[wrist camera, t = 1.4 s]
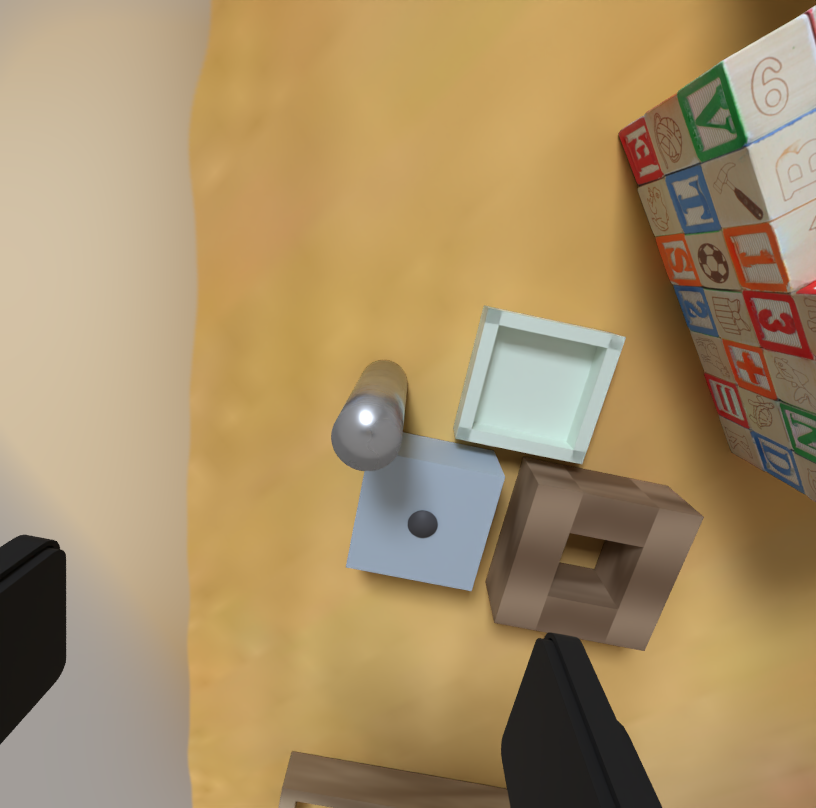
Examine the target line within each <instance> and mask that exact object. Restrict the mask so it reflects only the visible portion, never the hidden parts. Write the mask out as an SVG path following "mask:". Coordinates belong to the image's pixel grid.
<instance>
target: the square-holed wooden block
mask: <svg viewBox="0 0 816 808" xmlns="http://www.w3.org/2000/svg"><path fill="white" fill-rule="evenodd" d="M703 518H704V517H703V516H702V515H701V514H700V513H699V512H697V511H696V510H695V509H694V508H693V507H692V506H690V505H689V504H688V503H687V502H686V501H685V500H684V499H682V498H681V497H680V496H679V495H678V494H677V493H675V492H674V491H673V490H672V489H671V488H670V487H668V486H665V485H660V484H655V483H651V482H646V481H641V480H636V479H631V478H626V477H621V476H616V475H611V474H606V473H601V472H596V471H591V470H586V469H581V468H577V467H572V466H567V465H562V464H557V463H552V462H547V461H542V460H537V459H532V458H527V457H523V459H522V463H521V466H520V469H519V473H518V476H517V479H516V483H515V486H514V489H513V493H512V496H511V499H510V502H509V506H508V509H507V512H506V516H505V519H504V522H503V526H502V529H501V532H500V535H499V539H498V542H497V545H496V549H495V552H494V555H493V559H492V562H491V565H490V569H489V572H488V575H487V578H486V586H487V591H488V595H489V600H490V605H491V609H492V614H493V619H494V623H499V624H504V625H509V626H515V627H520V628H525V629H530V630H536V631H541V632H546V633H548V632H552V633H558V634H563V635H568V636H574V637H577V638H579V639H583V640H589V641H594V642H599V643H605V644H610V645H615V646H620V647H626V648H631V649H636V650H642V651H645V648H646V646H647V644H648V642H649V639H650V637H651V635H652V633H653V630H654V628H655V626H656V624H657V621H658V619H659V617H660V615H661V612H662V610H663V608H664V606H665V603H666V601H667V599H668V597H669V594H670V592H671V590H672V588H673V585H674V583H675V581H676V579H677V576H678V574H679V572H680V570H681V567H682V565H683V563H684V561H685V558H686V556H687V554H688V552H689V549H690V547H691V545H692V543H693V540H694V538H695V536H696V534H697V531H698V529H699V527H700V525H701V522H702V520H703ZM569 533H573V534H578V535H583V536H588V537H593V538H598V539H603V540H605V543H604V546H603V548H602V551H601V553H600V556H599V559H598V561H597V564H596V567H595V569H590V568H585V567H580V566H575V565H569V564H564V563H559V562H560V559H561V556H562V553H563V550H564V547H565V545H566V542H567V539H568V536H569Z"/></svg>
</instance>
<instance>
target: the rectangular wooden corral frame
mask: <svg viewBox="0 0 816 808" xmlns="http://www.w3.org/2000/svg"><path fill="white" fill-rule="evenodd" d="M297 801H298V802H303V803H309V804H315V805H321V806H327V807H333V808H510V802H509V797H508V791H507V789H504V788H498V787H493V786H487V785H481V784H476V783H470V782H464V781H458V780H453V779H447V778H441V777H436V776H430V775H424V774H418V773H413V772H407V771H401V770H396V769H390V768H384V767H379V766H373V765H367V764H361V763H356V762H350V761H344V760H339V759H333V758H327V757H322V756H316V755H310V754H304V753H299V752H293V751H292V753H291V756H290V760H289V764H288V768H287V772H286V775H285V779H284V783H283V787H282V792H281V797H280V803H279V808H296V803H297Z"/></svg>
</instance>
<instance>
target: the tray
mask: <svg viewBox="0 0 816 808" xmlns="http://www.w3.org/2000/svg"><path fill="white" fill-rule="evenodd" d="M625 338H626V337H623V336H620V335H617V334H614V333H610V332H606V331H601V330H596V329H592V328H587V327H582V326H578V325H573V324H568V323H564V322H559V321H554V320H550V319H545V318H540V317H536V316H531V315H526V314H522V313H517V312H512V311H508V310H503V309H498V308H494V307H489V306H484V307H483V311H482V315H481V319H480V323H479V327H478V331H477V335H476V339H475V343H474V347H473V351H472V355H471V359H470V363H469V367H468V371H467V375H466V379H465V383H464V387H463V391H462V395H461V399H460V403H459V407H458V411H457V415H456V419H455V423H454V427H453V429H454V433H455V438H456V439H460V440H465V441H470V442H474V443H479V444H484V445H489V446H494V447H499V448H504V449H509V450H514V451H519V452H524V453H529V454H534V455H539V456H543V457H548V458H553V459H558V460H563V461H568V462H573V463H578V464H582V463H583V460H584V457H585V455H586V452H587V449H588V446H589V443H590V440H591V437H592V434H593V431H594V428H595V426H596V423H597V420H598V417H599V414H600V411H601V408H602V405H603V402H604V399H605V396H606V394H607V391H608V388H609V385H610V382H611V379H612V376H613V373H614V370H615V367H616V365H617V362H618V359H619V356H620V353H621V350H622V347H623V344H624V341H625Z"/></svg>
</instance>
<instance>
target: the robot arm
mask: <svg viewBox="0 0 816 808" xmlns="http://www.w3.org/2000/svg"><path fill="white" fill-rule="evenodd" d="M65 663H66V554H65V552H64V551H63V550H60V546H59V544H58V542H57V541H54V540H50V539H45V538H40V537H34V536H29V535H20V536H18V537H16V538H14V539H12V540H11V541H9V542H8V543H6V544H4V545H3V546H1V547H0V744H1V743H2V742H3V741H4V740H5V738H6V737H7V736H8V735H9V734H10V733H11V732H12V730H14V728H15V727H16V726H17V725H18V724H19V723H20V722H21V721H22V719H23V718H24V717H25V716H26V715H27V714H28V713H29V712H30V710H31V709H32V708H33V707H34V706H35V705H36V704H37V703H38V701H39V700H40V699H41V698H42V697H43V696H44V695H45V693H46V692H47V691H48V690H49V689H50V688H51V687H52V686H53V684H54V683H55V682H56V681H57V679H58V678H59V676H60V675H61V673H62V671H63V669H64V666H65ZM501 756H502V763H503V769H504V774H505V780H506V785H507V791H508V797H509V802H510V808H662V806H661V804H660V802H659V799H658V797H657V795H656V793H655V791H654V789H653V787H652V784H651V782H650V780H649V778H648V776H647V774H646V771H645V769H644V767H643V765H642V763H641V761H640V759H639V756H638V754H637V752H636V750H635V748H634V746H633V743H632V741H631V739H630V737H629V735H628V733H627V732H626V730H625V728H624V726H622V725H621V724H620V723H619V722H618V721H617V719H616V717H615V715H614V713H613V710H612V708H611V706H610V704H609V702H608V699H607V697H606V695H605V693H604V691H603V688H602V686H601V684H600V682H599V680H598V677H597V675H596V673H595V671H594V669H593V666H592V664H591V662H590V660H589V658H588V655H587V653H586V651H585V649H584V646H583V644H582V642H581V641H580V639H579V638H577V637H574V636H568V635H563V634H558V633H552V632H548V633H547V634H546V636H545V638H544V639H541V638H538V639H537V640H536V642H535V645H534V648H533V651H532V654H531V656H530V659H529V662H528V665H527V668H526V671H525V674H524V677H523V679H522V682H521V685H520V688H519V691H518V694H517V697H516V699H515V702H514V705H513V708H512V711H511V714H510V717H509V720H508V722H507V725H506V728H505V731H504V734H503V737H502V744H501Z"/></svg>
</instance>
